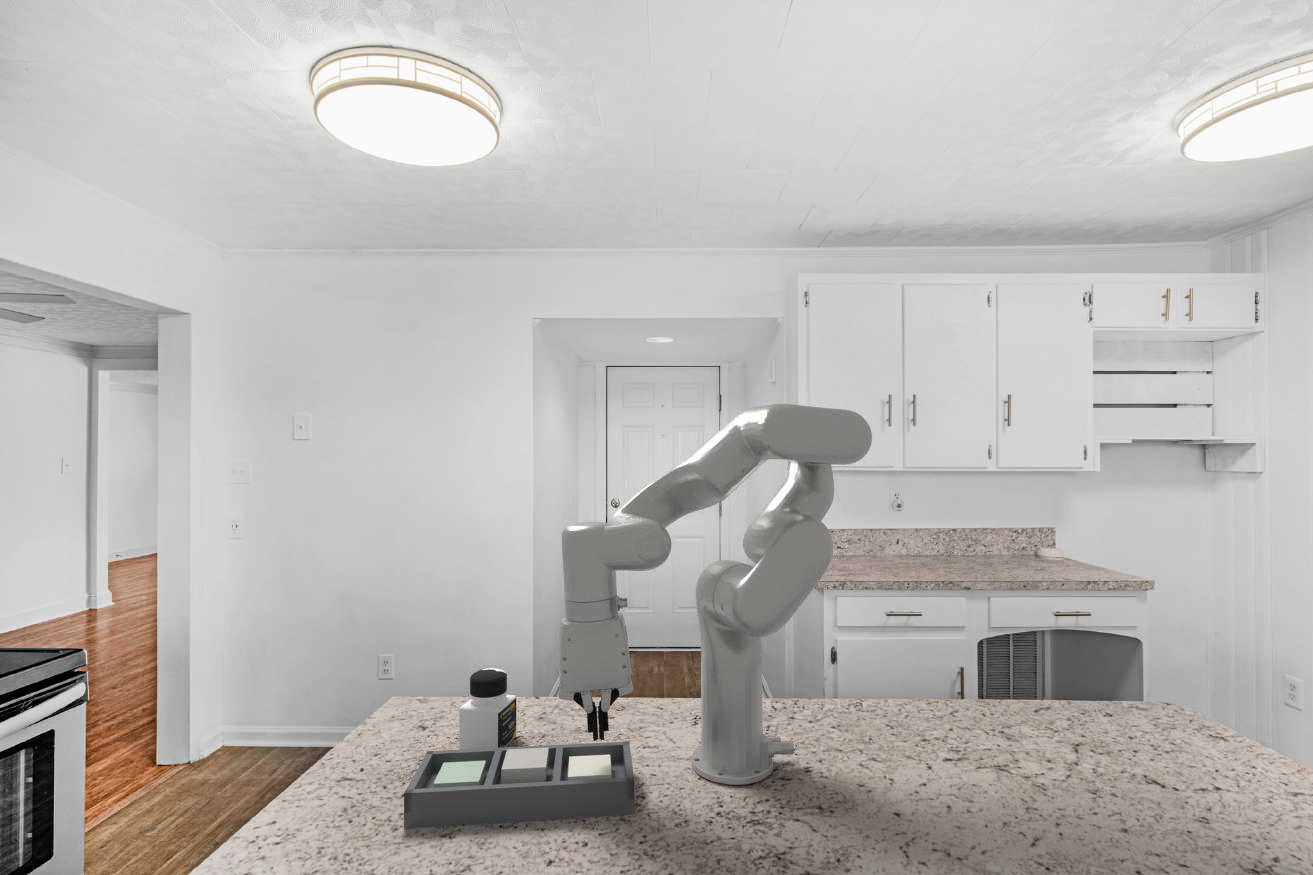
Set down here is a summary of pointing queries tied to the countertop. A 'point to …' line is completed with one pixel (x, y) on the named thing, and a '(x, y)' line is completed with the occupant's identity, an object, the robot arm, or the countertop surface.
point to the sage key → (461, 774)
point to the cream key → (589, 767)
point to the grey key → (525, 765)
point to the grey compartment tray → (520, 789)
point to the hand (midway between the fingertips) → (598, 736)
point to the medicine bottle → (487, 712)
